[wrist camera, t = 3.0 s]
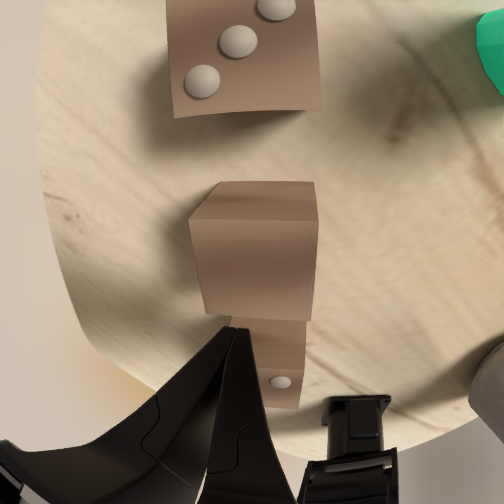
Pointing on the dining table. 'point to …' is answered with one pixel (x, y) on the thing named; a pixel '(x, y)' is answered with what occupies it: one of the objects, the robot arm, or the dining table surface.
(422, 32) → the dining table surface
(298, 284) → the plain block
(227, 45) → the three dot block
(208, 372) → the robot arm
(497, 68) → the candle
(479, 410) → the coffee pot
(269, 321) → the two dot block
